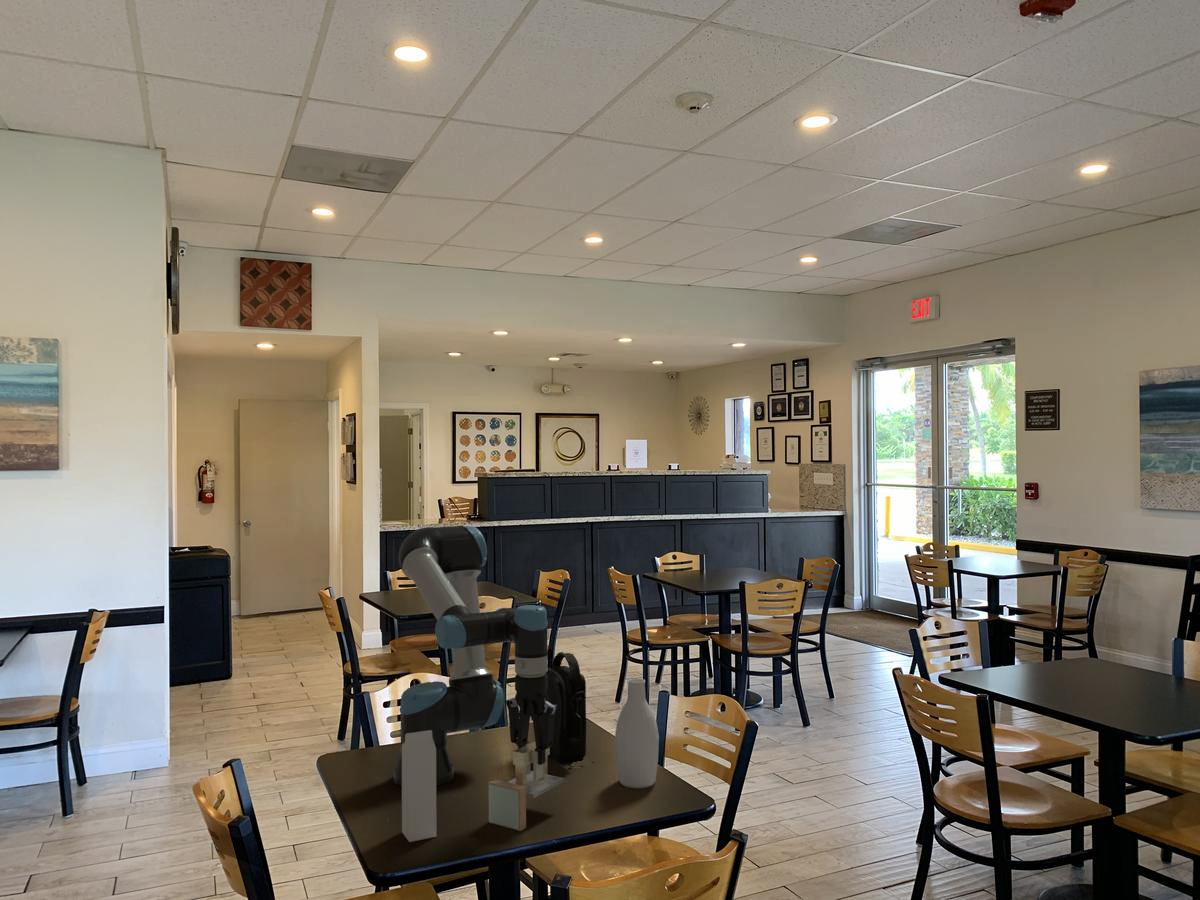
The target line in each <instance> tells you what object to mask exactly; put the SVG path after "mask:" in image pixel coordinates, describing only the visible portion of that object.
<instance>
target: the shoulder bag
mask: <svg viewBox="0 0 1200 900" xmlns="http://www.w3.org/2000/svg"><path fill="white" fill-rule="evenodd" d="M563 659H565V660H566V662H567V664H568V666H567V665H562V662H563ZM545 674H547V677H548V688H547V692H546V696H547V698H548V702H549V703H551V704H552V705H555V704H556V705H557V707H558V708H557V711H556V713H555V722H554V738H553V746H552V747H550V755H548V756H547V757H549V758H550V759H551V760H553V761H554V762H555V763H557V765H559V766H560V767H561V768H563V769H564V768H565V769H564V770H566V771H567V770H569V769H568V768H572V769H578V768H580V767H578V768H577V767H575V766H571V764H572V763H573V762H577V761H582V760H584V759H583V758H584V757H585V756H586V753H587V703H586V702H587V700H586V699H587V686H586V685H587V682H586V678H585V676H584V675H583V674H581V670H580V665H579V662H578V660H577V658H576V657H575V655H574V653H570V652H563V651H561V652H558V653H557V654H556V655H555V656H554V658H553V660H552V664H551V666H548V671H547V672H546V673H545ZM543 710H545V708H544V709H543ZM544 717H545V712H544ZM543 721H544V718H543ZM566 764H567V765H566ZM566 766H569V767H566ZM573 767H575V768H573Z"/></svg>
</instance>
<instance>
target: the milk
mask: <svg viewBox="0 0 1200 900" xmlns="http://www.w3.org/2000/svg"><path fill="white" fill-rule="evenodd" d="M401 832H402V834H403V835H404V837H405V839H406V840H407V841H408V842H409V843H412V842H413V843H414V842H418V841H421V840H427V839H432V838H437V786H436V747H435V744H434V741H433V738H432V730H428V731H421V732H414V733H407V734H406V735H405V742H404V743H403V744H402V786H401Z"/></svg>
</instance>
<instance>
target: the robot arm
mask: <svg viewBox="0 0 1200 900" xmlns="http://www.w3.org/2000/svg"><path fill="white" fill-rule="evenodd" d="M485 539H486V538H485V537H484V536H483V533H482V532H481V531H480V529H478V527H476V526H472V525H453V526H452V525H450V526H434V527H433V526H432V527H431V526H429V527H422V528H419V529H418V528H417V529H416V530H414V531H412V532H411V533H410V534H409V535H407V536H406V537H405V538H404V540H403V542H402V543H401V545H400V547H399V552H398V564H399V567H400V569H401V571H402V572H403V574H404V576H405V577H407V578H408V579H409V580H412V581H413V583H414V584H415V587H416V588H417V589H418V591H419V592H420V595H421V597H422V598H423V600H424V601H425V602H426V604H427V606H428V607H429V609H430V611H431V612H432V614H433V615H434V618H435V619H436V620H437V621H436V623H435V629H434V630H435V631H434V632H435V638H436V642H437V644H438V646H439V647H440V648H442V649H446V650H447V649H451V659H452V666H453V667H452V669H453V672H452V675H450V677H449V678H448V684H449V686H448V685H447V684H446V683H445V682H443V681H427V682H425V681H424V682H422V683H421V682H420V683H418V684H417V683H416V684H414V685H412V686H410V687H408V688H406V689H405V690H404V691H403V692H402V693H401V695H400V707H399V713H400V749H399V753H398V757H397V761H396V766H395V767H394V770H393V783H394V784H396V785H398V786H400V787H402V744H403V743H404V742H405V735H406V734H407V733H414V732H421V731H428V730H432V738H433V741H434V744H435V747H436V787H438V786H441V785H444V784H446V783H449V782H450V781H452V780H453V779H454V777H455V768H454V763H452V759H451V755H450V753H449V752H450V750H449V749H448V740H447V739H448V738H447V737H448V734H450V733H451V734H452V733H457V732H464V731H470V730H475V729H484V728H485V727H490V726H492V725H493V726H494V725H495V724H496V723H497V722H498V721H499V719H500V718H501V715H502V713H503V710H504V709H503V707H504V691H503V688H502V683H500V681H498V680H497V679H494V677H493V676H494V675H493V672H492V671H490V670H489V669H488V668H487V666H486V656H485V647H484V646H486V645H493V644H501V643H512V644H514V672H515V673H516V675H515V676H514V690H515V692H516V693H515V696H514V697H512V698H509V699H507V700H506V701H505V704H506V708H507V711H508V720H509V721H508V723H509V737H510V742H511V743H512V744H515V745H516V746H517V749H519V748H521V747H524V746H526V745H528V744H530V741H528V737H529V731H530V723H531V722H530V721H532V725H533V733H534V740H535V741H534V742H536V749H534V751H533V763H532V764H533V766H532V767H533V771H534V780H537V779H539V778H541V777H543V764H544V763H545V761H546V759H545V758H546V752H545V751H546V749H547V748H550V747H552V746H553V738H554V722H555V713H556V711H557V708H558V707H557V705H556V704H555V705H552V704H551V703H549V702H548V698H547V696H546V692H547V688H548V677H547V674H545V673H546V672H547V671H548V668H549V666H548V626H549V622H548V617H547V608H545V606H543V605H536V604H528V605H527V604H526V605H520V606H517V607H516V608H513V607H500V608H498V609H496V610H494V611H485V612H480V601H479V600H480V599H479V593H478V591H479V590H478V583H477V579H478V577H479V576H480V575H481V573H482V569H481V568H482V567H484V566H485V565H486V563H487V560H488V559H487V556H488V549H487V548H488V547H487V543H486V540H485ZM544 708H545V710H543V709H544ZM544 712H545V717H544ZM543 718H544V721H543ZM530 771H531V764H529V765H527V775H528V774H530Z"/></svg>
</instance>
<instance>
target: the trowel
mask: <svg viewBox="0 0 1200 900" xmlns="http://www.w3.org/2000/svg"><path fill="white" fill-rule="evenodd" d="M534 749H536V742H535V741H533V742H529V743H528V744H526V746H524V747H521V748H519V749H518V748H516V749H514V750H513V751H512V765H514V766H515V777H514V778H513V779H511V780H508V781H507V782H508V783H512V784H517V785H521V786H525V787H526V798H532V799H535V798H536V797H538V796H540V795H543V794H544V793H547V792H548V791H550V790H552V789H554V788H556V787H557V786H560V785H562V784H563V783H565V778H564V777H560V776H556V775H551V774H548V757H549V756H548V755H550V748H547V749H546V751H545V752H546V758H545V759H546V761H545V763H544V764H543V777H541V778H539V779H537V780H534V770H530V774H528V775H527V765H529V764H530V765H531V764H533V751H534Z"/></svg>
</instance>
